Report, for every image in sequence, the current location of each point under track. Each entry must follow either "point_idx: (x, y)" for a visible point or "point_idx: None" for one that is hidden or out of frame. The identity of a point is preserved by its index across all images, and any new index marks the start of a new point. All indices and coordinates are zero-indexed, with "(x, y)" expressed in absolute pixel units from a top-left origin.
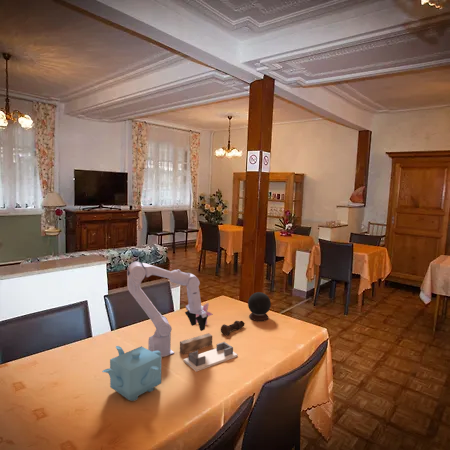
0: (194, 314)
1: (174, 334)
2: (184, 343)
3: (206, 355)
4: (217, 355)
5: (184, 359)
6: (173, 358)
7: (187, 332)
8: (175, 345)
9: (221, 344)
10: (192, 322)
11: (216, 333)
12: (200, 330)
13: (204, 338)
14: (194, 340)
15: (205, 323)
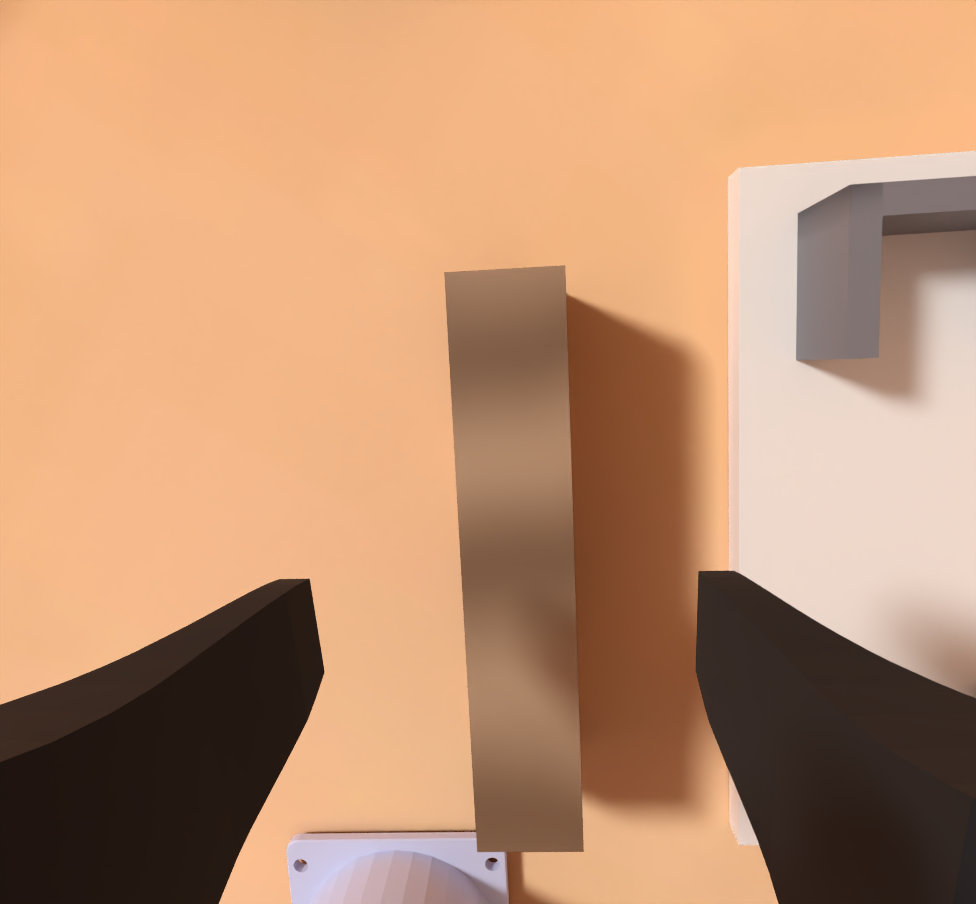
0: (124, 783)
1: (5, 585)
2: (572, 825)
3: (835, 562)
4: (930, 431)
5: (752, 841)
6: (599, 884)
7: (20, 397)
8: (311, 720)
9: (871, 273)
10: (286, 712)
11: (248, 4)
12: (700, 674)
13: (570, 446)
14: (566, 645)
15: (847, 643)
